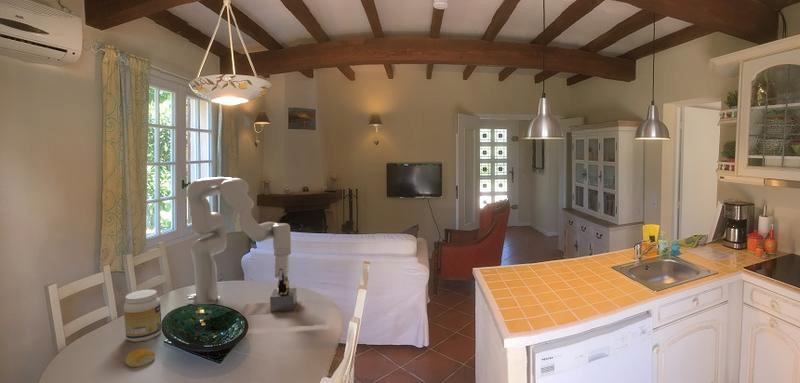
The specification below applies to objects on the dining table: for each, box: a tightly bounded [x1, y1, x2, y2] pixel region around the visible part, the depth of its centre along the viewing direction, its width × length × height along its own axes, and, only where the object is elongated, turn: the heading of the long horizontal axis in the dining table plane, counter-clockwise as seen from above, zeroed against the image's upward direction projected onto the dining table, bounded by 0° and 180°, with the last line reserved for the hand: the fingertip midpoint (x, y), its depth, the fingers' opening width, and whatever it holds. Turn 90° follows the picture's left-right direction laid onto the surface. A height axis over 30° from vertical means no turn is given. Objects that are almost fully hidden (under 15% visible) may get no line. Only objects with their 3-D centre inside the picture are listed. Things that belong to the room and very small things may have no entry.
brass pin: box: [276, 279, 290, 294], centre depth 179 cm, size 5×5×10 cm
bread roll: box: [124, 347, 156, 368], centre depth 137 cm, size 8×9×4 cm
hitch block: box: [269, 287, 298, 312], centre depth 179 cm, size 10×10×7 cm
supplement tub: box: [122, 289, 163, 342], centre depth 155 cm, size 12×12×17 cm
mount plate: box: [240, 300, 302, 316], centre depth 179 cm, size 25×13×2 cm, turn 97°
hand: (283, 289), depth 179 cm, fingers closed on brass pin, 5 cm apart
